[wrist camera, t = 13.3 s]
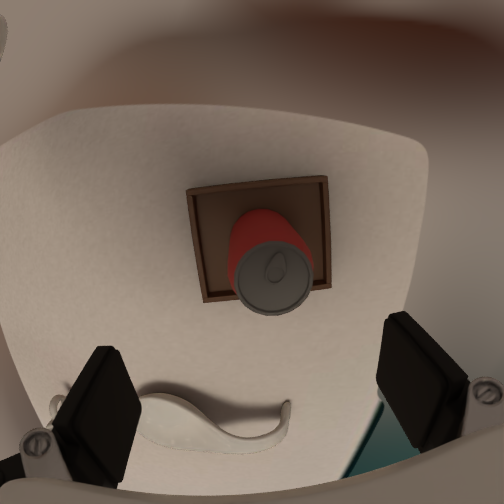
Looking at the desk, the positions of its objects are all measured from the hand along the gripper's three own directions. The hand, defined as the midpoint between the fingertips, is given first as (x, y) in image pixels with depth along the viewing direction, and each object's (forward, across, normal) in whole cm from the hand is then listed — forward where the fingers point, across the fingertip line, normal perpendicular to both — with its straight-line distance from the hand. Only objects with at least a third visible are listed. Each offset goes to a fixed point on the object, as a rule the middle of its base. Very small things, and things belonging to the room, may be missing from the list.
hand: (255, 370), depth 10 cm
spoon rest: (+24, +8, +27) cm, 36 cm away
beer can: (+23, -2, +2) cm, 23 cm away
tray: (+24, -2, +2) cm, 24 cm away
